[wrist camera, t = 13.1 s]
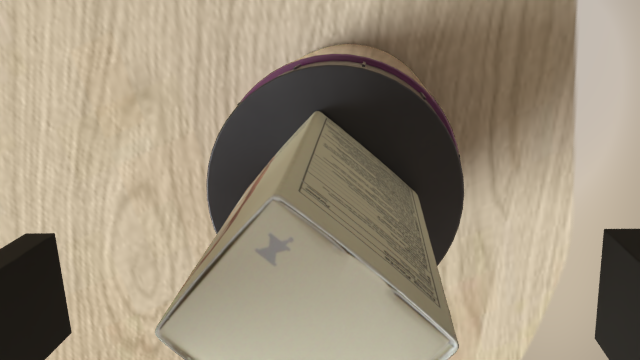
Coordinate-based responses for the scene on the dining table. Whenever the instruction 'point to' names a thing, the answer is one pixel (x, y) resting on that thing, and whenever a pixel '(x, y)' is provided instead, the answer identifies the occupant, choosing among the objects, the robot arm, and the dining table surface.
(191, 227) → the dining table surface
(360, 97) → the jar lid
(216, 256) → the cardboard box
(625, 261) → the robot arm
